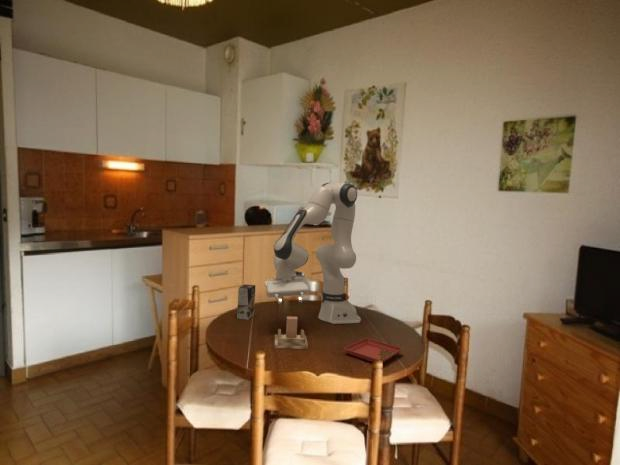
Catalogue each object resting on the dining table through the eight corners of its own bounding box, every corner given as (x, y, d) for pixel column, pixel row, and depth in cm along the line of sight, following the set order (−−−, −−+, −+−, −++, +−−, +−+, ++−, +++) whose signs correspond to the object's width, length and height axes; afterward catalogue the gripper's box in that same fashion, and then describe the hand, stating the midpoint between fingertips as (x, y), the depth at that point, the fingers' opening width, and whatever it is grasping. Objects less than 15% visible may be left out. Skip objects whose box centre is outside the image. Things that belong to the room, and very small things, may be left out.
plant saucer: (342, 355, 170) (343, 347, 170) (365, 344, 184) (366, 337, 184) (381, 368, 159) (382, 360, 158) (402, 356, 173) (403, 348, 172)
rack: (305, 337, 186) (306, 329, 186) (307, 348, 173) (308, 339, 173) (274, 337, 185) (275, 328, 184) (274, 348, 172) (275, 338, 172)
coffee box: (248, 320, 207) (250, 288, 205) (236, 318, 208) (237, 287, 206) (254, 315, 216) (256, 285, 214) (243, 313, 217) (244, 283, 215)
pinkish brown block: (295, 338, 181) (297, 316, 180) (296, 341, 177) (297, 319, 176) (285, 338, 181) (286, 316, 180) (285, 341, 177) (287, 318, 176)
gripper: (264, 275, 190) (268, 300, 181) (307, 272, 195) (313, 296, 186) (263, 283, 195) (267, 308, 186) (305, 280, 199) (311, 304, 190)
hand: (290, 302), depth 186 cm, fingers open, 8 cm apart
